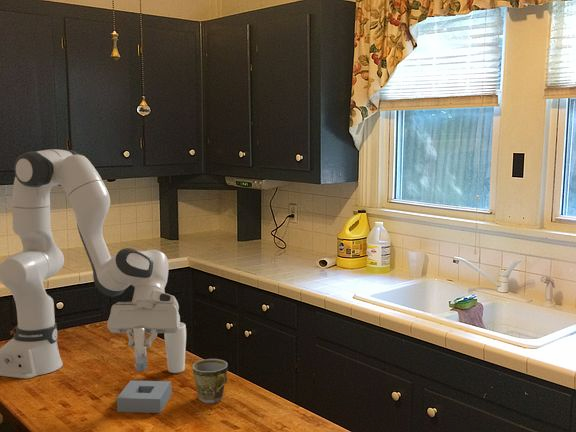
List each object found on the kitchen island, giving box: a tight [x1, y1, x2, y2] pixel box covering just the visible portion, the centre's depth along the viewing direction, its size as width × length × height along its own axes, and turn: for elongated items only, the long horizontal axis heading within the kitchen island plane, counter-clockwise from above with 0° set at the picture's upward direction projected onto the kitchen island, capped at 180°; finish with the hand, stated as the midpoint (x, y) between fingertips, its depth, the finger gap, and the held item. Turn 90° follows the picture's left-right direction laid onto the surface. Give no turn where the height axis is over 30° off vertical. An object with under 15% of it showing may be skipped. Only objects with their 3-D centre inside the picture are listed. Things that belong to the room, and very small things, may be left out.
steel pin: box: [133, 326, 148, 372], centre depth 180 cm, size 3×3×12 cm
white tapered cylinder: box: [163, 321, 187, 374], centre depth 204 cm, size 7×7×15 cm
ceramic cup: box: [192, 358, 229, 404], centre depth 183 cm, size 13×10×10 cm
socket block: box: [116, 380, 173, 414], centre depth 182 cm, size 12×12×4 cm
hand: (139, 345), depth 179 cm, fingers closed on steel pin, 3 cm apart
